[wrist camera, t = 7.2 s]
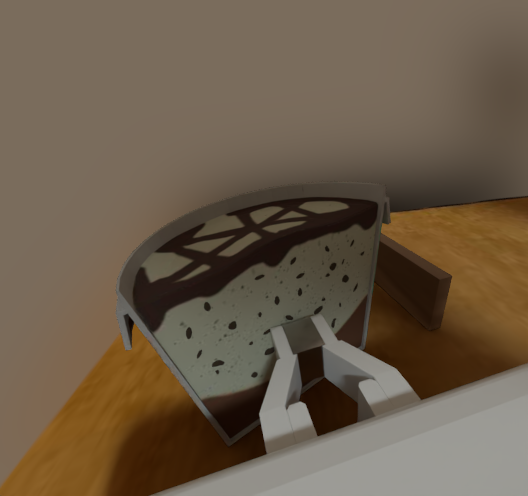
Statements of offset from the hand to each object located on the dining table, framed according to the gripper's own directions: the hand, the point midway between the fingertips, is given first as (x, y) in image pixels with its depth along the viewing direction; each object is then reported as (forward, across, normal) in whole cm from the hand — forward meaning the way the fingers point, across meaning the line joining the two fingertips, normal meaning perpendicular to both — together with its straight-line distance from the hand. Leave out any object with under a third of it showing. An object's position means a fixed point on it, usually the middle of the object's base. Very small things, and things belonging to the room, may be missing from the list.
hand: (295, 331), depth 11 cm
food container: (+3, +1, +5) cm, 6 cm away
